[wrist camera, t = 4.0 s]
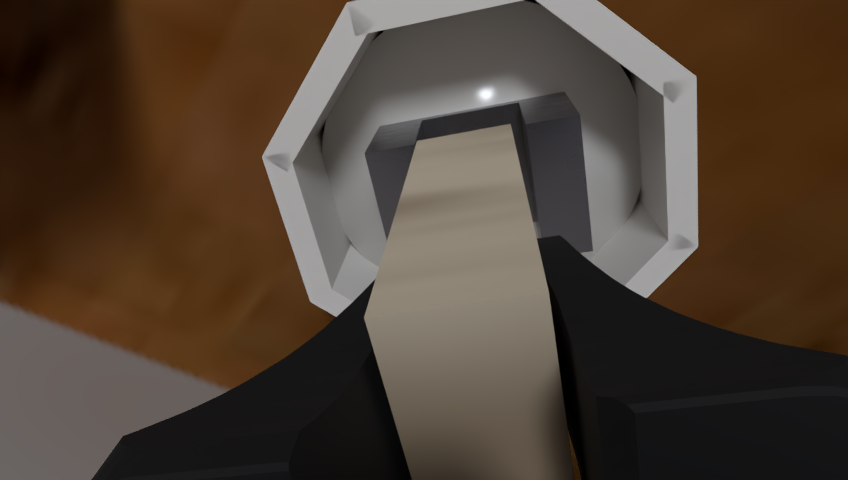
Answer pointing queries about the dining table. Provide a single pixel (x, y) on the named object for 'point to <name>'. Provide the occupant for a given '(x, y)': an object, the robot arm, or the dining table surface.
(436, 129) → the clip
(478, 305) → the wood grain plank
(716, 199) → the dining table surface
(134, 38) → the dining table surface
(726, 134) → the dining table surface
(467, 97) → the bowl
